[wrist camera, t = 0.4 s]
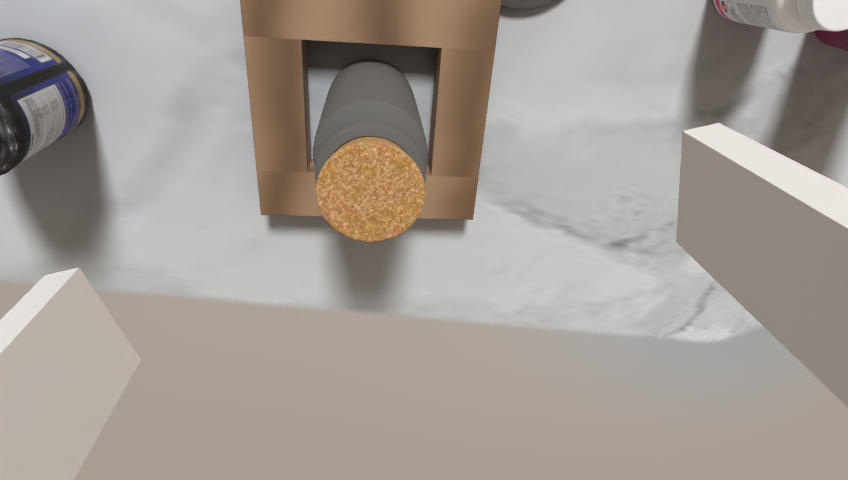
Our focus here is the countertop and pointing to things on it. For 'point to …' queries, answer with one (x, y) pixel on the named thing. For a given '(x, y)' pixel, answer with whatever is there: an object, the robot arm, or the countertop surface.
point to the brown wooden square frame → (374, 24)
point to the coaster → (524, 3)
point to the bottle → (370, 153)
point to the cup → (834, 38)
